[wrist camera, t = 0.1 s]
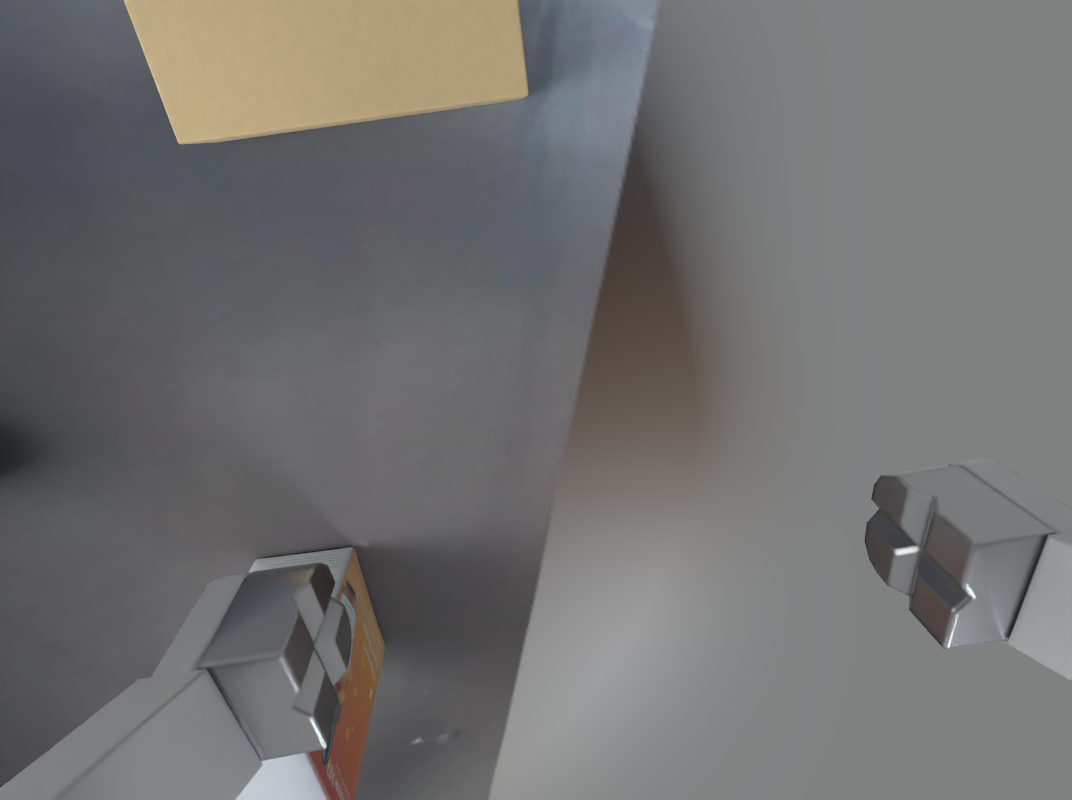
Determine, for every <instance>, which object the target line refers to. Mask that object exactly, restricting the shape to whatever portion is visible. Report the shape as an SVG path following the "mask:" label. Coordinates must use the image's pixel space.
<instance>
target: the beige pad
mask: <svg viewBox="0 0 1072 800" xmlns="http://www.w3.org/2000/svg"><path fill="white" fill-rule="evenodd" d="M124 1H125V4H126V7H127V9H128V12H129V14H130V17H131V20H132V22H133V25H134V28H135V30H136V33H137V35H138V38H139V41H140V43H141V46H142V49H143V51H144V54H145V57H146V59H147V62H148V64H149V67H150V70H151V72H152V75H153V78H154V80H155V83H156V85H157V88H158V91H159V93H160V96H161V99H162V101H163V104H164V106H165V109H166V112H167V114H168V117H169V120H170V122H171V125H172V128H173V130H174V133H175V135H176V138H177V141H178V143H179V144H194V143H213V142H223V141H230V140H237V139H244V138H251V137H259V136H266V135H273V134H280V133H287V132H294V131H301V130H308V129H315V128H323V127H330V126H337V125H344V124H351V123H358V122H365V121H372V120H379V119H387V118H394V117H401V116H408V115H415V114H422V113H429V112H436V111H443V110H451V109H458V108H465V107H472V106H479V105H486V104H493V103H500V102H508V101H515V100H522V99H523V98H525V97H526V96H527V95H528V94H529V90H528V81H527V72H526V64H525V55H524V46H523V38H522V29H521V20H520V12H519V3H518V0H124Z"/></svg>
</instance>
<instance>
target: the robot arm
mask: <svg viewBox="0 0 1072 800" xmlns="http://www.w3.org/2000/svg"><path fill="white" fill-rule="evenodd" d="M871 499H872V500H873V502H874V503H875V504H876V505H877V507H878V508H879V510H878V511H877V512H876V513H875V515H874V516H873V517H872V518H871V519H870V520H869V521H868V522H867V526H866V534H865V544H866V548H867V551H868V556H869V559H870V561H871V563H872V565H873V567H874V568H875V570H876V572H877V573H878V575H879V576H880V577H881V578H882V579H883V580H884V582H885V583H886V584H887V585H888V586H890V587H892V588H894V589H896V590H898V591H900V592H902V593H904V594H906V595H908V596H909V610H910V611H911V612H912V614H913V615H914V616H915V617H916V618H917V619H918V620H919V621H920V622H921V624H922V625H923V626H924V627H925V628H926V629H927V630H928V631H929V632H930V634H931V635H932V636H933V637H934V638H935V639H936V640H937V642H938V643H939V644H940V645H941V646H942V647H943V648H944V649H947V648H955V647H963V646H970V645H978V644H985V643H993V642H1001V641H1008V640H1009V641H1008V645H1010V646H1012V647H1014V648H1016V649H1017V650H1019V651H1021V652H1022V653H1024V654H1026V655H1028V656H1029V657H1031V658H1033V659H1035V660H1036V661H1038V662H1040V663H1042V664H1043V665H1045V666H1047V667H1048V668H1050V669H1052V670H1054V671H1055V672H1057V673H1059V674H1060V675H1062V676H1064V677H1066V678H1067V679H1069V680H1071V681H1072V509H1071V508H1070V507H1068V506H1067V505H1065V504H1063V503H1062V502H1060V501H1059V500H1057V499H1055V498H1054V497H1053V496H1051V495H1050V494H1048V493H1046V492H1045V491H1043V490H1042V489H1040V488H1039V487H1037V486H1035V485H1034V484H1032V483H1031V482H1029V481H1028V480H1026V479H1025V478H1023V477H1022V476H1020V475H1018V474H1017V473H1015V472H1014V471H1012V470H1011V469H1009V468H1008V467H1006V466H1004V465H1003V464H1001V463H1000V462H998V461H994V460H990V459H986V458H980V459H975V460H969V461H964V462H958V463H952V464H949V465H947V466H939V467H933V468H927V469H920V470H915V471H908V472H902V473H895V474H889V475H883V476H880V478H879V479H878V480H877V482H876V483H875V484H874V489H873V494H872V498H871ZM335 583H336V582H335V580H334V578H333V575H332V573H331V571H330V569H329V566H328V565H326V564H323V563H314V564H306V565H298V566H291V567H283V568H276V569H268V570H261V571H254V572H252V573H242V574H235V575H228V576H220V577H218V578H216V579H214V580H213V581H211V582H210V583H209V584H208V585H207V587H206V588H205V590H204V592H203V593H202V595H201V596H200V598H199V600H198V601H197V603H196V605H195V606H194V608H193V610H192V611H191V613H190V614H189V616H188V618H187V619H186V621H185V623H184V624H183V626H182V627H181V629H180V631H179V632H178V634H177V636H176V637H175V639H174V640H173V642H172V644H171V645H170V647H169V649H168V650H167V652H166V654H165V655H164V657H163V658H162V660H161V662H160V663H159V665H158V667H157V668H156V670H155V671H154V673H153V675H152V676H151V677H149V678H143V679H138V680H137V681H136V682H135V683H133V684H132V685H131V686H130V687H128V688H127V689H126V690H124V691H123V692H122V693H121V694H119V695H118V696H117V697H116V698H114V699H113V700H112V701H110V702H109V703H108V704H107V705H105V706H104V707H103V708H102V709H100V710H99V711H98V712H96V713H95V714H94V715H93V716H91V717H90V718H89V719H88V720H86V721H85V722H84V723H83V724H81V725H80V726H79V727H77V728H76V729H75V730H74V731H72V732H71V733H70V734H69V735H67V736H66V737H65V738H63V739H62V740H61V741H60V742H58V743H57V744H56V745H55V746H53V747H52V748H51V749H49V750H48V751H47V752H46V753H44V754H43V755H42V756H41V757H39V758H38V759H37V760H35V761H34V762H33V763H32V764H30V765H29V766H28V767H27V768H25V769H24V770H23V771H21V772H20V773H19V774H18V775H16V776H15V777H14V778H13V779H11V780H10V781H9V782H7V783H6V784H5V785H4V786H2V787H1V788H0V800H236V799H237V797H238V796H239V795H240V793H241V792H242V791H243V790H244V788H245V787H246V786H247V784H248V783H249V782H250V781H251V779H252V778H253V777H254V775H255V774H256V773H257V772H258V770H259V769H260V768H261V766H262V762H261V761H265V760H270V759H275V758H280V757H286V756H291V755H296V754H301V753H306V752H312V751H317V750H322V749H327V746H328V743H329V739H330V735H331V731H332V727H333V723H334V719H335V716H336V712H337V708H338V704H339V699H338V697H337V694H336V692H335V690H334V687H333V686H334V685H335V684H336V683H337V682H338V681H339V680H340V679H341V677H342V676H343V675H344V674H345V673H346V672H347V668H348V664H349V660H350V655H351V637H352V632H351V626H350V620H349V616H348V613H347V610H346V608H345V605H344V604H342V603H341V602H339V601H338V600H336V599H335V598H333V597H332V596H331V595H332V592H333V589H334V586H335Z"/></svg>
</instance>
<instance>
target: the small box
mask: <svg viewBox="0 0 1072 800" xmlns="http://www.w3.org/2000/svg"><path fill="white" fill-rule="evenodd" d="M314 563H323V564H326V565H328V566H329V569H330V571H331V573H332V575H333V578H334V580H335V582H336V583H335V586H334V589H333V592H332V595H331V596H332V597H333V598H335V599H336V600H338V601H339V602H341V603H342V604H344V605H345V608H346V610H347V613H348V616H349V620H350V626H351V632H352V637H351V655H350V660H349V664H348V668H347V672H346V673H345V674H344V675H343V676H342V677H341V679H340V680H339V681H338V682H337V683H336V684H335V685H334V686H333V687H334V690H335V692H336V694H337V697H338V699H339V704H338V708H337V712H336V716H335V719H334V723H333V727H332V731H331V735H330V739H329V743H328V746H327V749H322V750H317V751H312V752H306V753H301V754H296V755H291V756H286V757H280V758H275V759H270V760H265V761H261V762H262V766H261V768H260V769H259V770H258V772H257V773H256V774H255V775H254V777H253V778H252V779H251V781H250V782H249V783H248V784H247V786H246V787H245V788H244V790H243V791H242V792H241V793H240V795H239V796H238V797H237V799H236V800H353V799H354V794H355V789H356V785H357V780H358V775H359V770H360V765H361V761H362V756H363V751H364V746H365V741H366V737H367V732H368V727H369V722H370V717H371V712H372V707H373V703H374V698H375V693H376V688H377V683H378V678H379V674H380V669H381V664H382V659H383V654H384V649H385V643H384V640H383V637H382V634H381V632H380V629H379V627H378V624H377V621H376V617H375V614H374V611H373V608H372V604H371V601H370V598H369V594H368V591H367V588H366V584H365V581H364V578H363V574H362V571H361V568H360V565H359V561H358V558H357V554H356V551H355V548H354V547H349V548H342V549H335V550H327V551H320V552H312V553H304V554H296V555H288V556H280V557H272V558H263V559H257V560H255V562H254V563H253V565H252V567H251V569H250V571H249V573H252V572H254V571H261V570H268V569H276V568H283V567H291V566H298V565H306V564H314Z"/></svg>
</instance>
